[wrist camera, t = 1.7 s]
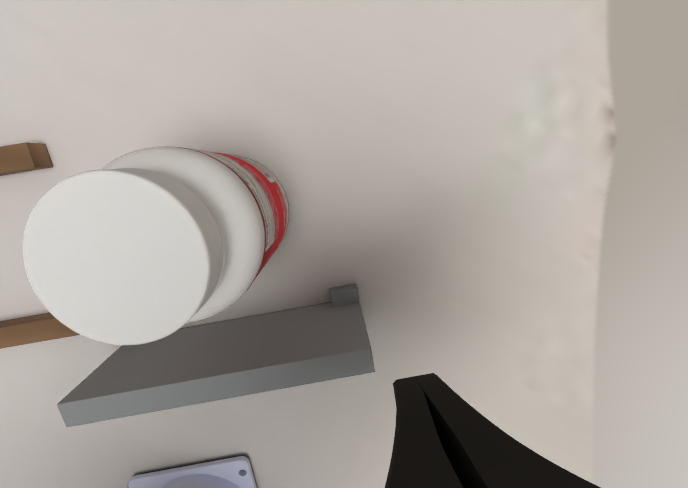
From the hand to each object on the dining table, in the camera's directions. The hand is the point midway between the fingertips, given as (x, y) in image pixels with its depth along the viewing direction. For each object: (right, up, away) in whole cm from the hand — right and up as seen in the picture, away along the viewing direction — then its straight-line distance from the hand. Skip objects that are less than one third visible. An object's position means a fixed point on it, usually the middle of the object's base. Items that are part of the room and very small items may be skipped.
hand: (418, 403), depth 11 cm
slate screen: (-8, 0, +10) cm, 13 cm away
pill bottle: (-9, +7, +9) cm, 14 cm away
